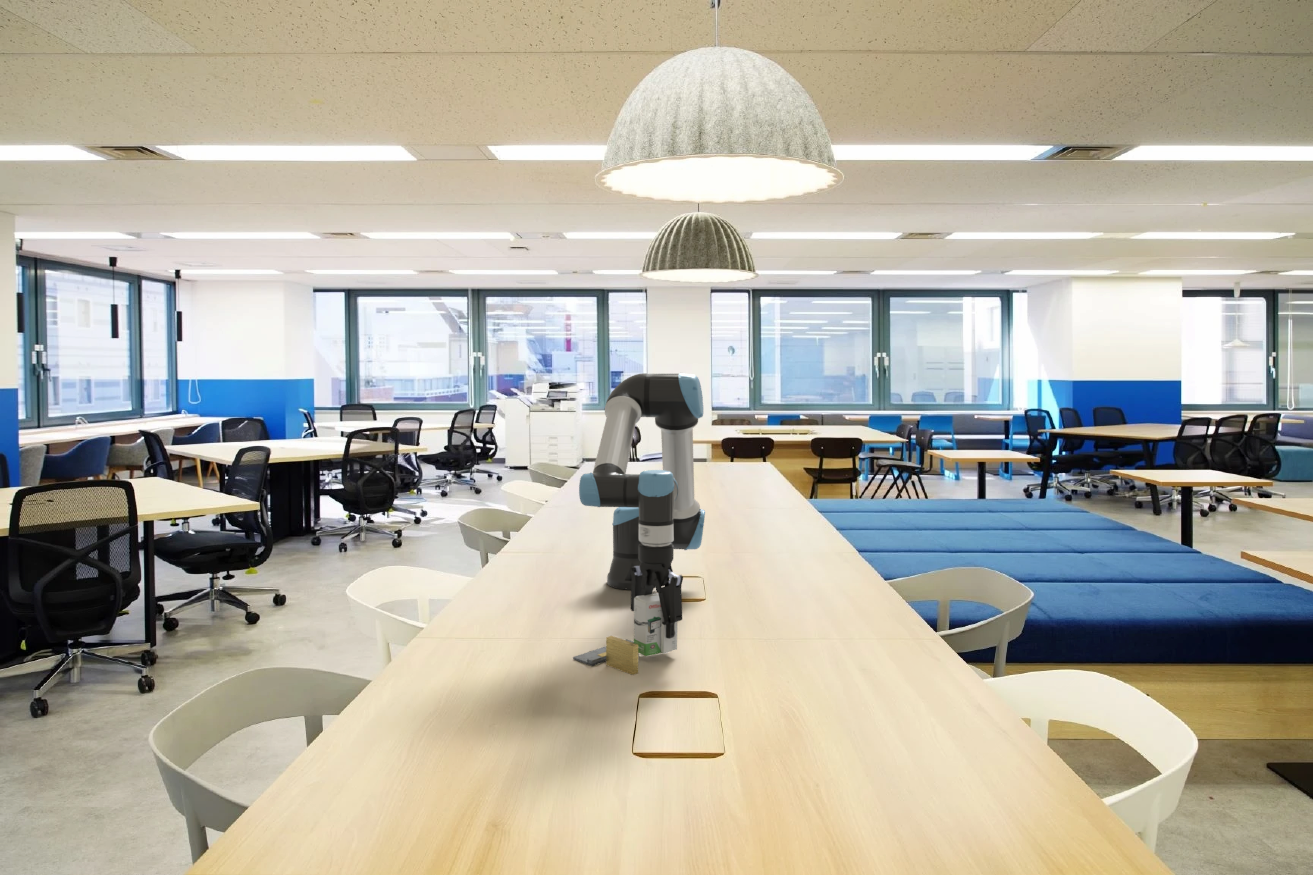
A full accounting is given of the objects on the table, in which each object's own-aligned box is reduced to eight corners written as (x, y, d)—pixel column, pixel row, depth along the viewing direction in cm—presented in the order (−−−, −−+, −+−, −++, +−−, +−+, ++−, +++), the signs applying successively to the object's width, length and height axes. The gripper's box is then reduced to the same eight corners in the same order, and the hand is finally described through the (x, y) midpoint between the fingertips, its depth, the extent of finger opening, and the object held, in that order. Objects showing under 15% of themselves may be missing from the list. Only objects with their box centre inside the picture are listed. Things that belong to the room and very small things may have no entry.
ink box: (645, 657, 169) (645, 602, 168) (632, 650, 173) (632, 596, 172) (678, 649, 174) (678, 596, 173) (665, 643, 178) (665, 590, 177)
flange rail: (573, 659, 172) (572, 631, 172) (626, 641, 184) (626, 615, 183) (624, 678, 162) (624, 649, 161) (677, 658, 173) (677, 631, 173)
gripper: (613, 539, 176) (613, 642, 177) (676, 552, 163) (676, 663, 165) (637, 534, 181) (637, 634, 183) (700, 546, 168) (700, 654, 170)
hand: (655, 648), depth 174 cm, fingers closed on ink box, 6 cm apart
